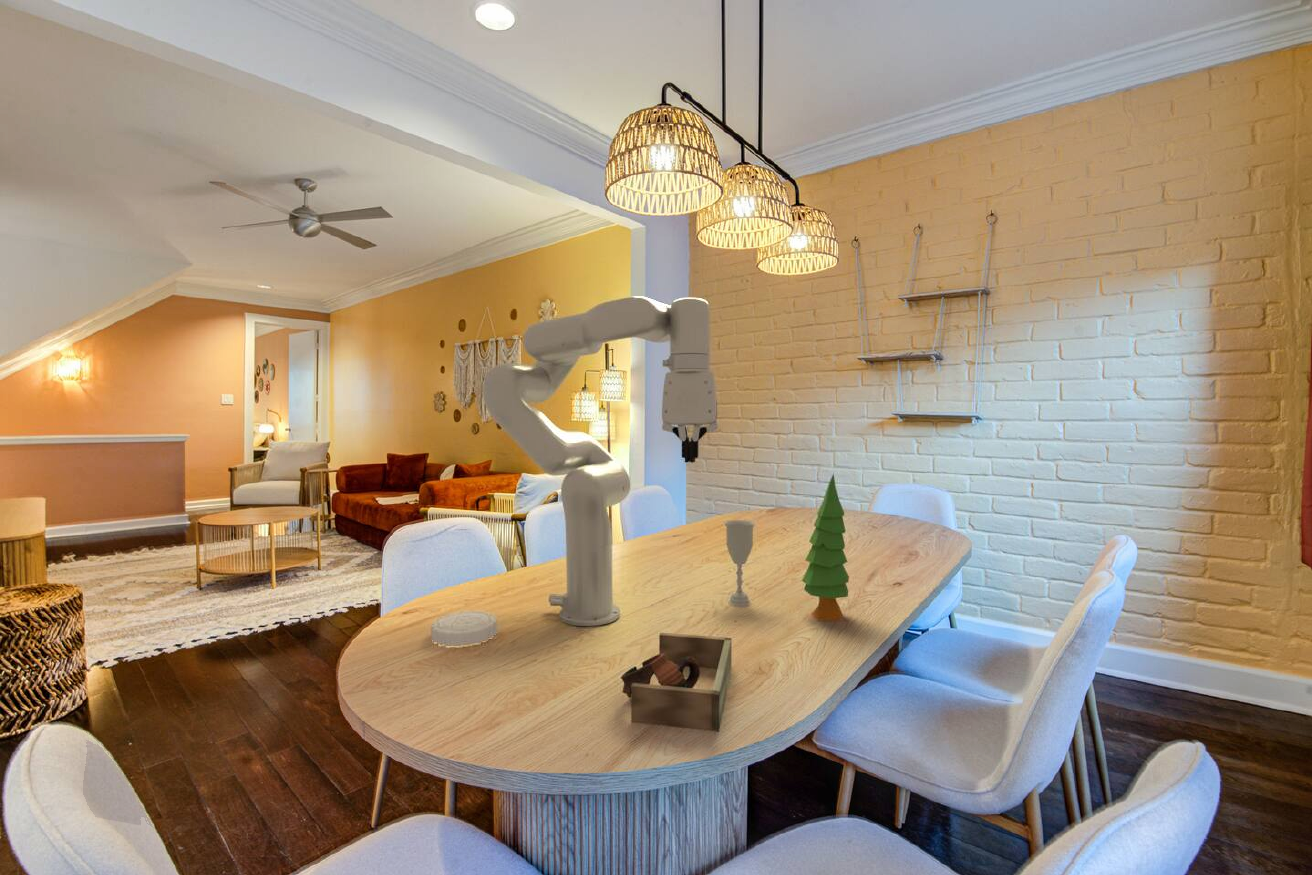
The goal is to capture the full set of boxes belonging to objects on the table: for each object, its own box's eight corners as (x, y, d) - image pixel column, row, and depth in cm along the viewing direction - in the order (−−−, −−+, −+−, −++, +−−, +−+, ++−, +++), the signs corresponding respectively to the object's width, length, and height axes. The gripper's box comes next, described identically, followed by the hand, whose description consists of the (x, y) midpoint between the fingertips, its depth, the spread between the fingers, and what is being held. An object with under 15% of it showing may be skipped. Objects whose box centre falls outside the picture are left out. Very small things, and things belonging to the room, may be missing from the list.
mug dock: (631, 721, 80) (631, 685, 80) (660, 661, 99) (660, 632, 99) (719, 731, 77) (719, 694, 77) (731, 667, 97) (731, 637, 97)
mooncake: (490, 648, 106) (490, 629, 106) (422, 651, 105) (422, 631, 105) (502, 624, 118) (502, 607, 118) (441, 627, 117) (441, 609, 117)
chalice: (754, 609, 126) (754, 526, 125) (722, 607, 127) (722, 525, 127) (755, 598, 133) (755, 520, 132) (725, 597, 134) (725, 519, 134)
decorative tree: (847, 626, 115) (848, 475, 114) (798, 620, 119) (799, 474, 118) (849, 611, 124) (850, 471, 123) (804, 606, 128) (804, 470, 127)
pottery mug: (656, 736, 77) (629, 676, 79) (630, 735, 85) (606, 681, 87) (723, 690, 84) (696, 635, 85) (693, 693, 91) (669, 643, 93)
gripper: (647, 364, 108) (647, 463, 109) (727, 362, 105) (727, 464, 106) (655, 367, 116) (655, 460, 116) (731, 366, 113) (731, 461, 113)
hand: (690, 461), depth 111 cm, fingers closed
